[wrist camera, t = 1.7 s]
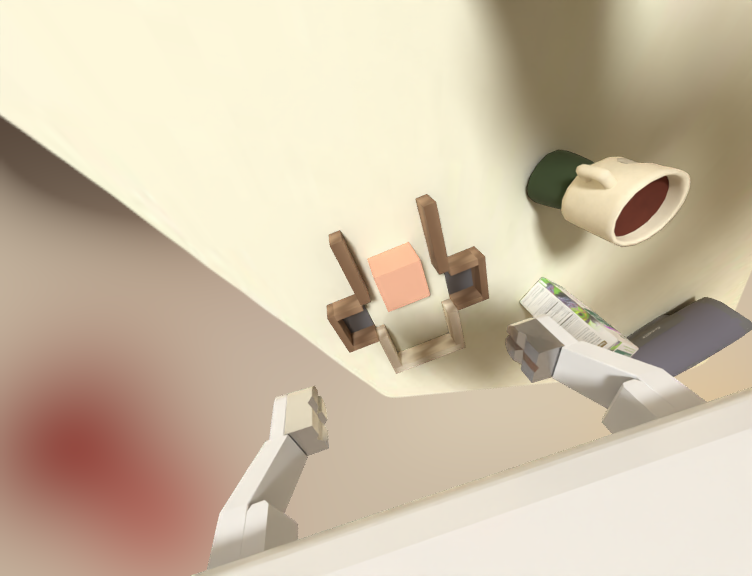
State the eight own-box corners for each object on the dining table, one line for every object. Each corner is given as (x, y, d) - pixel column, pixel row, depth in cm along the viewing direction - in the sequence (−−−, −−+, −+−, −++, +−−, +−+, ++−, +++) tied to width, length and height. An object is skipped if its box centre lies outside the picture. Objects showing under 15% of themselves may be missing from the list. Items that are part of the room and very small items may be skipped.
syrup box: (561, 285, 46) (644, 348, 35) (537, 310, 49) (606, 376, 38) (541, 275, 44) (622, 339, 33) (516, 302, 47) (583, 370, 35)
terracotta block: (408, 241, 36) (420, 259, 32) (418, 275, 39) (430, 295, 35) (367, 258, 36) (373, 278, 32) (380, 290, 40) (388, 312, 36)
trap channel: (465, 178, 32) (478, 184, 30) (483, 325, 49) (492, 336, 46) (291, 250, 33) (290, 262, 31) (367, 370, 50) (370, 383, 47)
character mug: (590, 174, 35) (707, 207, 25) (547, 219, 38) (635, 266, 27) (546, 121, 30) (669, 134, 20) (500, 178, 33) (586, 216, 23)
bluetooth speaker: (603, 365, 67) (642, 402, 59) (590, 353, 62) (631, 391, 54) (699, 305, 59) (759, 337, 51) (692, 286, 54) (757, 319, 46)
